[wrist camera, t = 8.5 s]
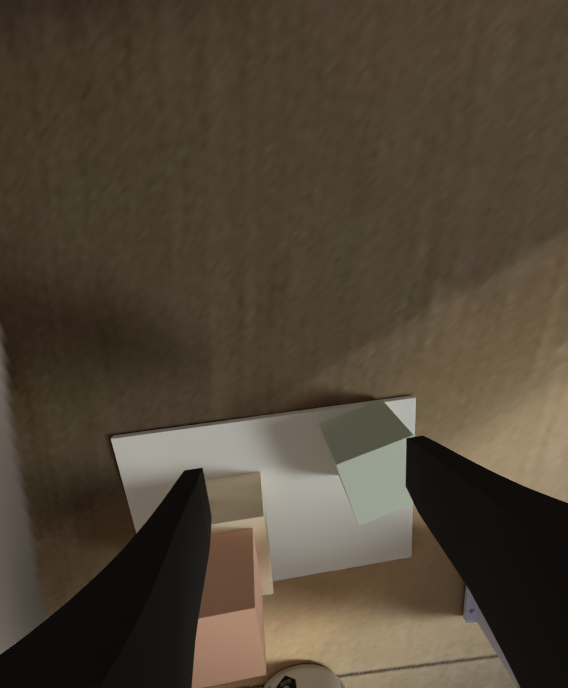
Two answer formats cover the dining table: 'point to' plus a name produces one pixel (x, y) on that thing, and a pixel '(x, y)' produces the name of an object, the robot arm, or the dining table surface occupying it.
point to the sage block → (370, 459)
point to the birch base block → (242, 515)
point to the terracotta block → (230, 613)
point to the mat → (273, 484)
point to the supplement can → (305, 678)
